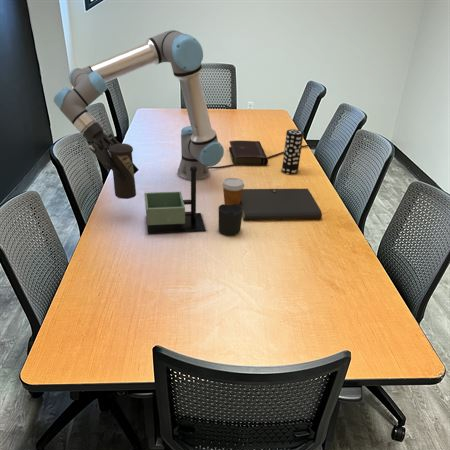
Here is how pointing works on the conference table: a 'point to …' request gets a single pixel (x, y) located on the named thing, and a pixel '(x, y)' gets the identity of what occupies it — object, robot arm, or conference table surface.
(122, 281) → the conference table surface
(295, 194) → the file folder
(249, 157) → the diary
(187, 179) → the robot arm
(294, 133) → the white-spotted black cylinder
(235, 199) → the disposable coffee cup
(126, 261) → the conference table surface
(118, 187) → the container
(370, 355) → the conference table surface
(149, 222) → the green box on stand
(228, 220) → the pen holder
